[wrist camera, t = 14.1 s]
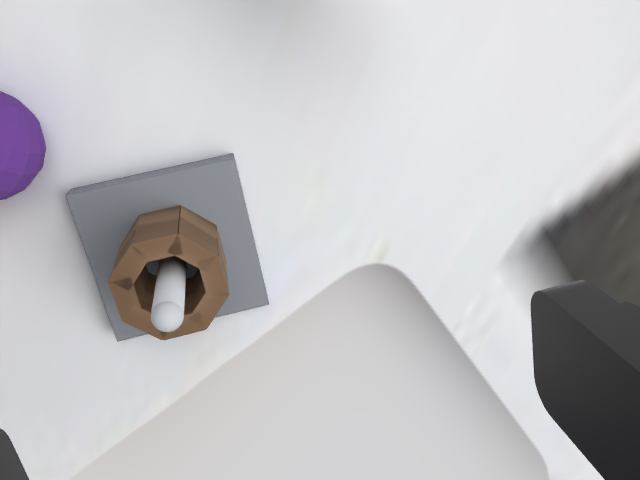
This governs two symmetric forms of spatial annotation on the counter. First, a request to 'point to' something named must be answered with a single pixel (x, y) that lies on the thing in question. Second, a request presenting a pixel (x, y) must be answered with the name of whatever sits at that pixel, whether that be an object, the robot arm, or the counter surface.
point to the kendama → (18, 146)
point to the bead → (161, 242)
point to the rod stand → (169, 296)
